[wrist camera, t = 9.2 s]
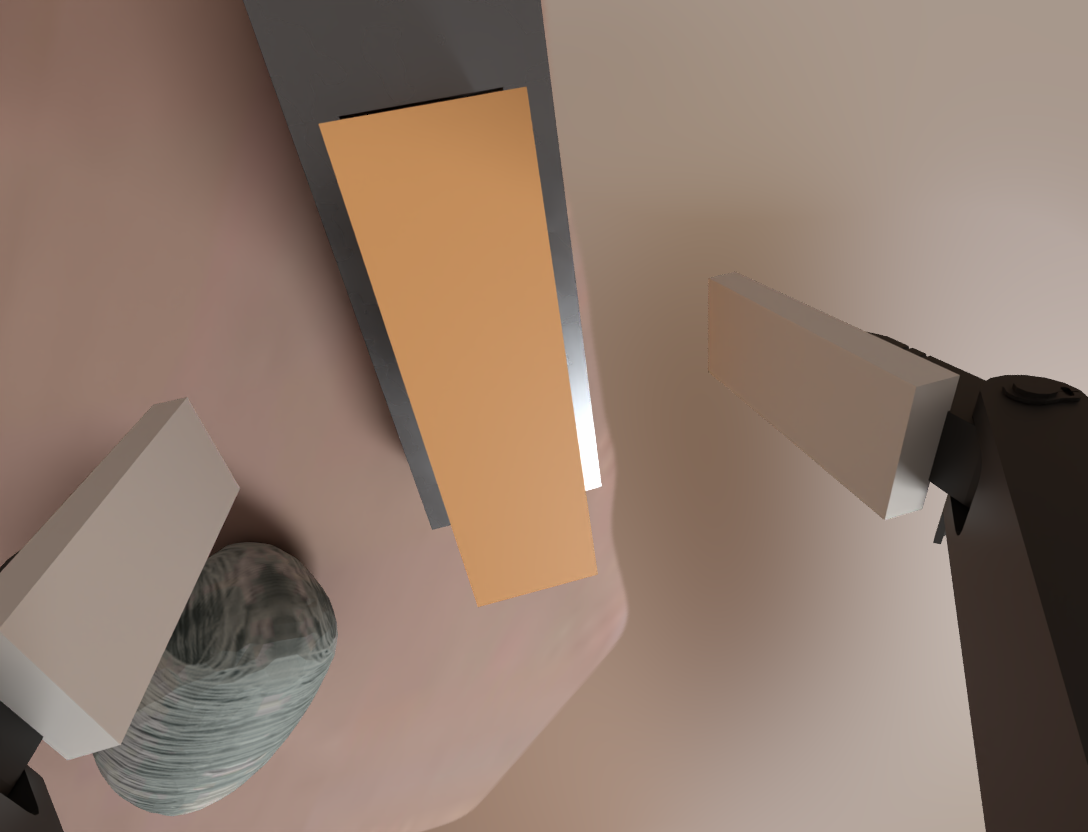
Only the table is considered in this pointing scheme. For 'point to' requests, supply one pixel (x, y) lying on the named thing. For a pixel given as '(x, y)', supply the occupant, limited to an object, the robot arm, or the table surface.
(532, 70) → the cinder block
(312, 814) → the table surface
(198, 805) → the spool
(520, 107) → the wooden arch block
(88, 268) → the table surface
